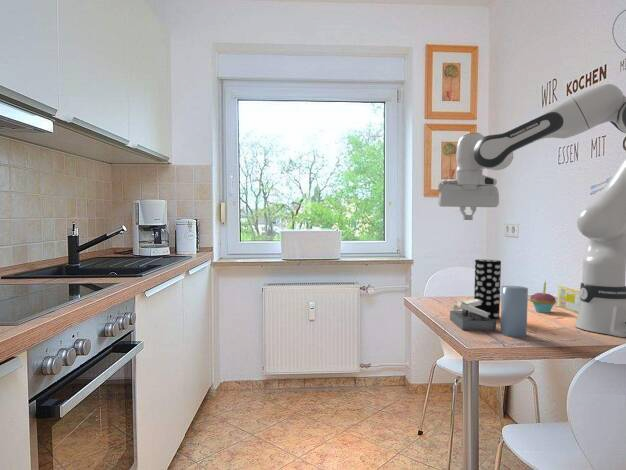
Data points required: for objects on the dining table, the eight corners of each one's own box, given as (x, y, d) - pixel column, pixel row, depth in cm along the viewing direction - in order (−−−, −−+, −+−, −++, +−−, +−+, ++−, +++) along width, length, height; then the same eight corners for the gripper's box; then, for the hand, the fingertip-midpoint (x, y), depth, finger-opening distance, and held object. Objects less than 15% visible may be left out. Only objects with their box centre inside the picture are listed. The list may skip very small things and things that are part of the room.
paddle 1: (477, 302, 138) (476, 297, 138) (481, 304, 134) (480, 299, 134) (450, 308, 138) (449, 303, 138) (454, 311, 135) (452, 306, 135)
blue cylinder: (520, 331, 126) (521, 285, 125) (530, 337, 119) (532, 289, 118) (496, 330, 126) (498, 285, 126) (506, 337, 119) (507, 289, 119)
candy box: (588, 315, 150) (589, 292, 150) (582, 315, 150) (583, 292, 150) (561, 306, 166) (562, 286, 166) (556, 306, 166) (557, 285, 166)
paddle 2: (483, 315, 131) (485, 310, 131) (487, 317, 127) (489, 312, 127) (456, 304, 131) (458, 300, 131) (459, 307, 128) (461, 302, 128)
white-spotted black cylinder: (497, 315, 147) (498, 259, 147) (501, 320, 139) (502, 262, 139) (472, 313, 149) (473, 259, 149) (475, 318, 141) (476, 261, 141)
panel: (479, 320, 140) (480, 306, 139) (495, 330, 126) (496, 316, 125) (449, 319, 140) (450, 305, 140) (462, 330, 126) (462, 315, 126)
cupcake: (559, 314, 150) (560, 282, 150) (534, 313, 151) (535, 281, 151) (549, 309, 158) (550, 278, 158) (526, 308, 160) (527, 278, 159)
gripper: (440, 179, 142) (439, 219, 142) (501, 180, 140) (500, 220, 141) (436, 181, 148) (435, 219, 148) (494, 181, 147) (493, 220, 147)
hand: (467, 219), depth 145 cm, fingers closed
